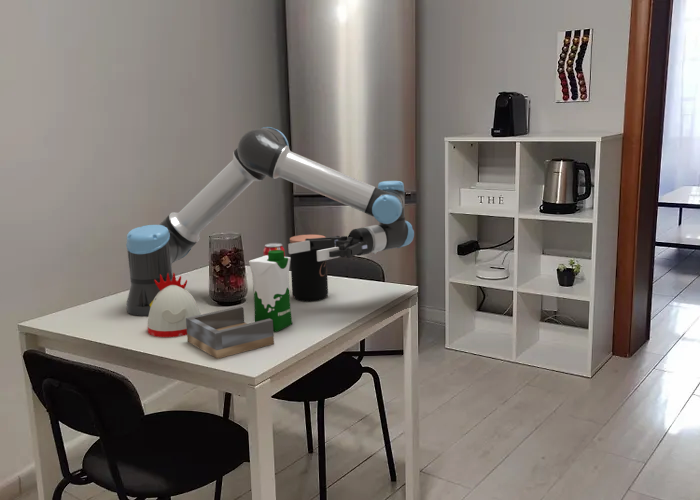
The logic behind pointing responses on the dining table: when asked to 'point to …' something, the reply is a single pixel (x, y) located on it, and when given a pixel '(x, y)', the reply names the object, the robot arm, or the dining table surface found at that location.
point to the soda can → (272, 248)
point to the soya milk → (272, 288)
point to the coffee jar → (308, 273)
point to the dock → (228, 332)
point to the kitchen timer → (171, 309)
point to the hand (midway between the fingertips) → (302, 252)
